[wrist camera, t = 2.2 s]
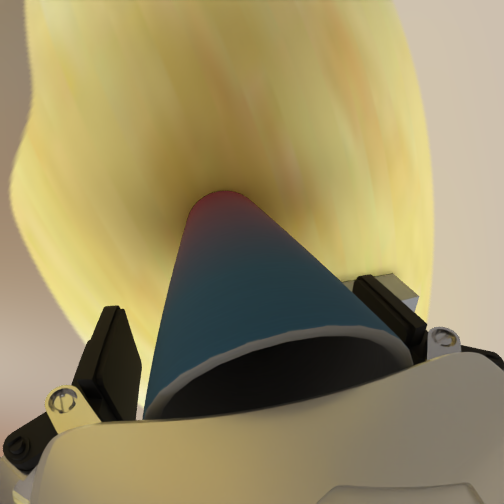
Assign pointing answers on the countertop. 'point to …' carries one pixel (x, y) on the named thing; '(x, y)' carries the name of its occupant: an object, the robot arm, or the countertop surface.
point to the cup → (258, 320)
